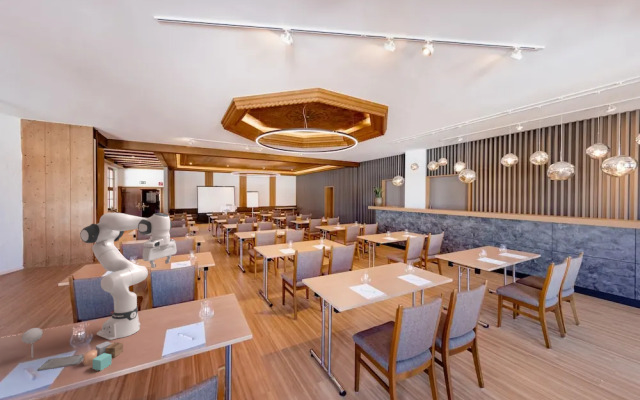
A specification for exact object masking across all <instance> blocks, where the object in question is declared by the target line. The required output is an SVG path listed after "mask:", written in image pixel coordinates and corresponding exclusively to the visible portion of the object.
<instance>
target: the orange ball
mask: <svg viewBox="0 0 640 400" xmlns="http://www.w3.org/2000/svg"><path fill="white" fill-rule="evenodd" d="M83 354H84V358H83V360H82V362H83V366H84V367H88V366H89V367H90V366H93V359H94V358H96V357H98V356H97V350H96V349H91V350H88V351H85V353H83Z"/></svg>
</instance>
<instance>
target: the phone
mask: <svg viewBox="0 0 640 400" xmlns="http://www.w3.org/2000/svg"><path fill="white" fill-rule="evenodd" d="M83 358H84V353H83V354H75V355H68V356H62V357H61V356H60V357H53V358H49V359H47V360H46V361H45V362H44V363H42V364H41V365H39V367H37V371H38V372H39V371H40V372H41V371H46V370H52V369H53V370H54V369H59V368H65V367H72V366H77V365H79V364H81V363H82V362H83Z"/></svg>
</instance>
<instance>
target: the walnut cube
mask: <svg viewBox="0 0 640 400" xmlns="http://www.w3.org/2000/svg"><path fill="white" fill-rule="evenodd" d="M123 352H124V342H117V341H115V342H113V343H111V345H109V346H108V347H106V354H112V358H117V357H118V356H119V355H120V354H122V353H123Z"/></svg>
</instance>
